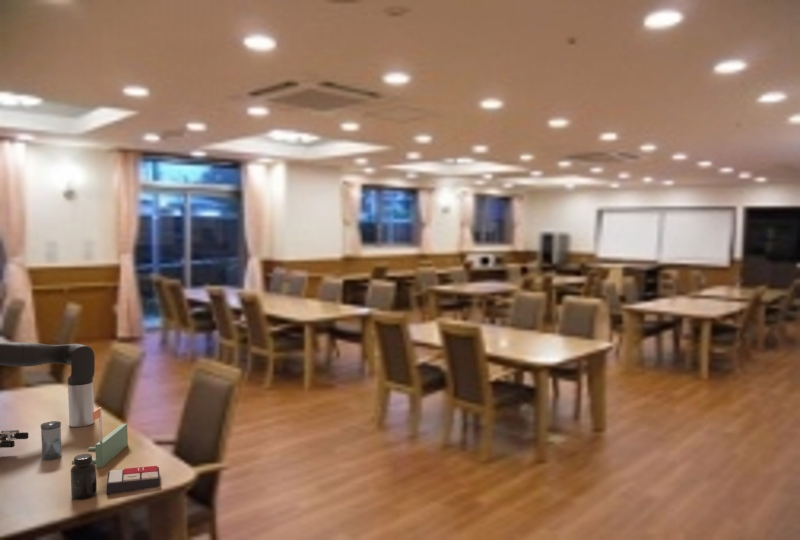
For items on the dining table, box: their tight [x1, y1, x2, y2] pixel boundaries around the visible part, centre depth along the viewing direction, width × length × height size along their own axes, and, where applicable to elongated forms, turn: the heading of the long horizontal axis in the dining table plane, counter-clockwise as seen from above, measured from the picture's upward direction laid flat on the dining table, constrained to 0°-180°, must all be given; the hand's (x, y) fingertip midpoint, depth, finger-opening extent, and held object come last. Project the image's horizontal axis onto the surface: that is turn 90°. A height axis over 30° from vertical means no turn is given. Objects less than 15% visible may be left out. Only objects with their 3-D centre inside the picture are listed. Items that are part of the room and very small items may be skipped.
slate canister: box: [40, 420, 63, 461], centre depth 215 cm, size 6×6×12 cm
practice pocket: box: [71, 407, 129, 469], centre depth 214 cm, size 25×12×20 cm, turn 3°
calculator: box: [105, 465, 161, 495], centre depth 192 cm, size 11×4×15 cm
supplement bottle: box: [70, 453, 98, 501], centre depth 184 cm, size 7×7×12 cm
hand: (21, 439), depth 215 cm, fingers open, 8 cm apart
